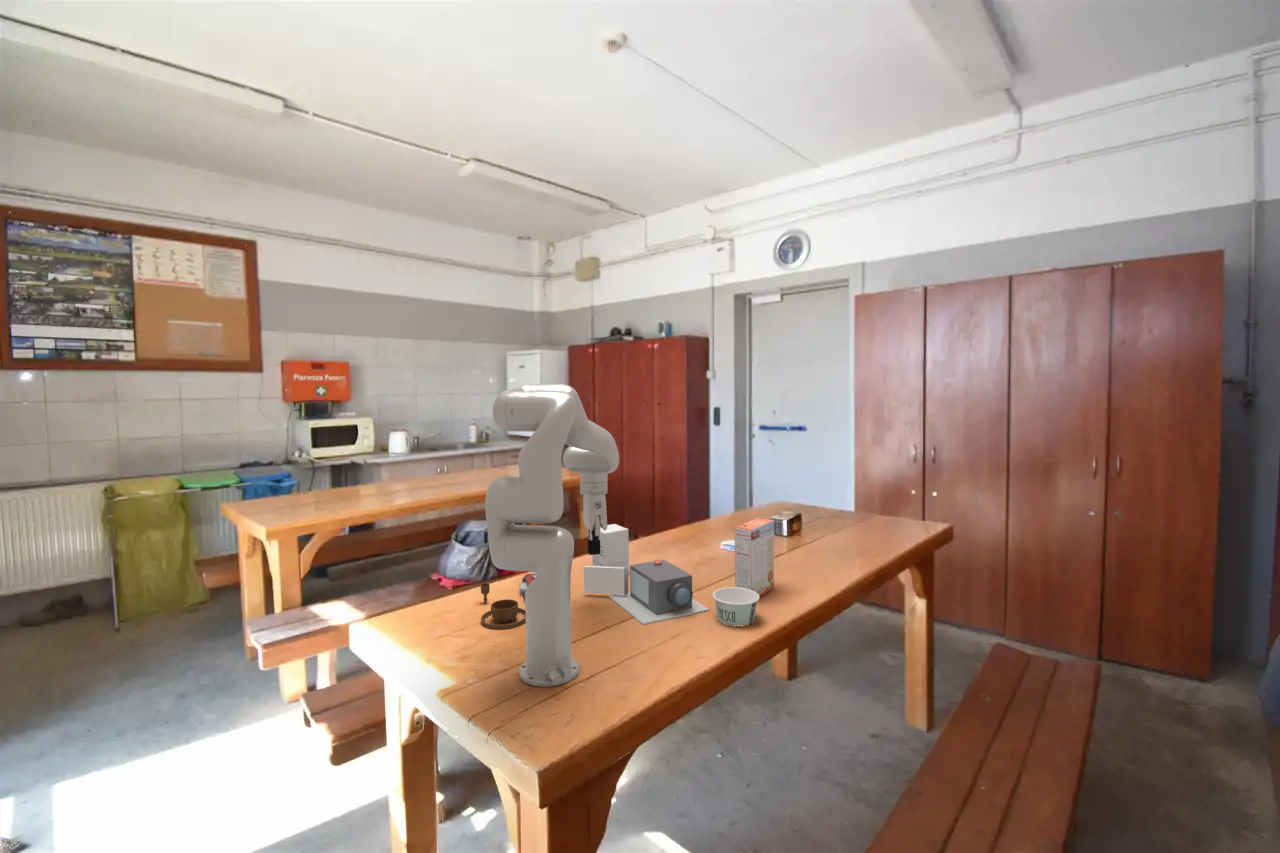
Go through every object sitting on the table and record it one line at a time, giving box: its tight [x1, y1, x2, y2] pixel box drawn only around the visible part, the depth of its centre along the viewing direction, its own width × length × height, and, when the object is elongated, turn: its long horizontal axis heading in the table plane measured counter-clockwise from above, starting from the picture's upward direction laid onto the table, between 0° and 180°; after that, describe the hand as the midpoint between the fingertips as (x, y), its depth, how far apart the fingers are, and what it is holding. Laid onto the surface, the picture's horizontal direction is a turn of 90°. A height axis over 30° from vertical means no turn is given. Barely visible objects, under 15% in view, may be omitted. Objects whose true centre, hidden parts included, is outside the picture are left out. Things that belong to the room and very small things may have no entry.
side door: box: [583, 565, 629, 595], centre depth 171 cm, size 13×1×8 cm, turn 81°
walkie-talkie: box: [519, 572, 537, 599], centre depth 175 cm, size 9×4×20 cm
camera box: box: [608, 559, 710, 626], centre depth 165 cm, size 22×20×10 cm
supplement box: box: [591, 523, 630, 575], centre depth 191 cm, size 9×9×15 cm
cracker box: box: [734, 517, 775, 598], centre depth 172 cm, size 14×6×21 cm, turn 141°
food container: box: [712, 586, 761, 627], centre depth 154 cm, size 12×12×6 cm
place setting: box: [480, 582, 526, 630], centre depth 158 cm, size 18×20×6 cm
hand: (594, 553), depth 164 cm, fingers closed
